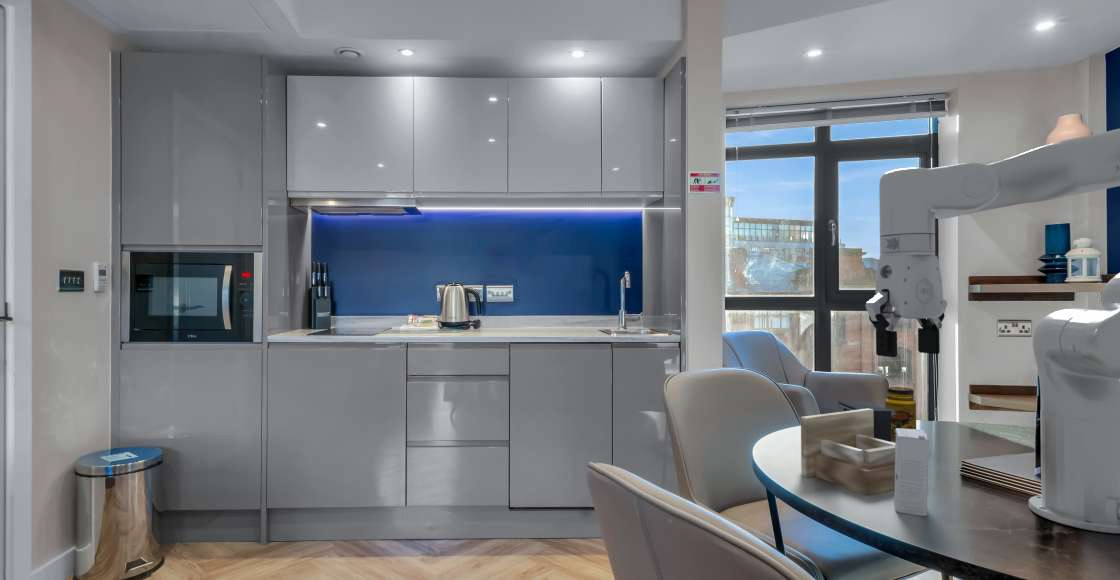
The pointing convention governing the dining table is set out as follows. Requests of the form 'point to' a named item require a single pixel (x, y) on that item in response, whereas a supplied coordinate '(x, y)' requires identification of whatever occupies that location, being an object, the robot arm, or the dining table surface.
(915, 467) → the skincare box
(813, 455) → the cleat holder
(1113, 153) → the robot arm
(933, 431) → the dining table surface
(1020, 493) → the dining table surface
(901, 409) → the condiment
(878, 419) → the small box
